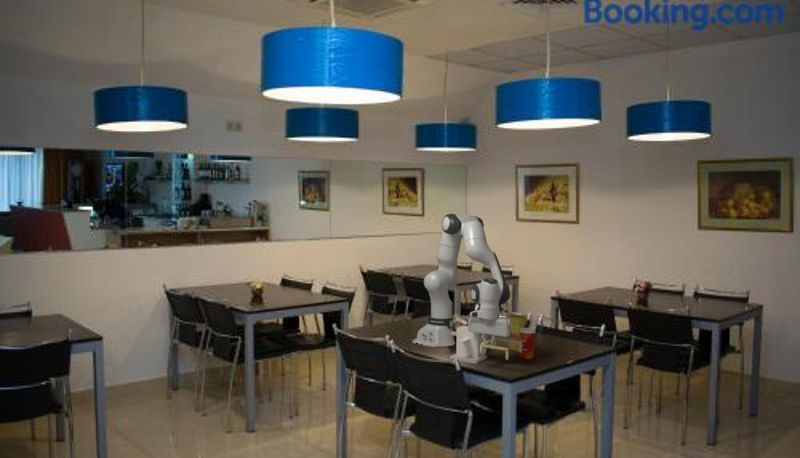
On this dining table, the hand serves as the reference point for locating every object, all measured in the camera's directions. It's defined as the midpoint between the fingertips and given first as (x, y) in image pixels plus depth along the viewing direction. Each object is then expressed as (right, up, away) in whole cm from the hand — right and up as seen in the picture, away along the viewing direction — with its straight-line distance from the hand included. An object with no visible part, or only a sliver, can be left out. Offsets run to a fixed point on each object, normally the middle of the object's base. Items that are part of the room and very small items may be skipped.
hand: (488, 343), depth 305 cm
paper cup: (+20, -9, +13) cm, 26 cm away
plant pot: (+26, -6, +70) cm, 74 cm away
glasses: (+5, -4, -3) cm, 7 cm away
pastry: (+21, -8, +33) cm, 40 cm away
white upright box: (-9, -9, +9) cm, 16 cm away
